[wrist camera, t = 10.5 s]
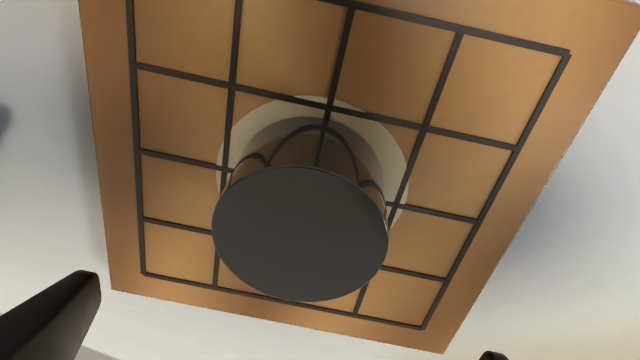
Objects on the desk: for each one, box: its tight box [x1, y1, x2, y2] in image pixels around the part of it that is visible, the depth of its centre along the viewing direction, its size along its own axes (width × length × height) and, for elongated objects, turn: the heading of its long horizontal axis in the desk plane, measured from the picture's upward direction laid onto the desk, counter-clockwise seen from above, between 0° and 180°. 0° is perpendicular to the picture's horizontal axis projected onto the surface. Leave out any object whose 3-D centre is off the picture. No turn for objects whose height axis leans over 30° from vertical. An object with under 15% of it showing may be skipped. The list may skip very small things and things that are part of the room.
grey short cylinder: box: [211, 117, 389, 302], centre depth 13 cm, size 5×5×3 cm
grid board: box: [78, 0, 640, 354], centre depth 15 cm, size 15×15×1 cm
